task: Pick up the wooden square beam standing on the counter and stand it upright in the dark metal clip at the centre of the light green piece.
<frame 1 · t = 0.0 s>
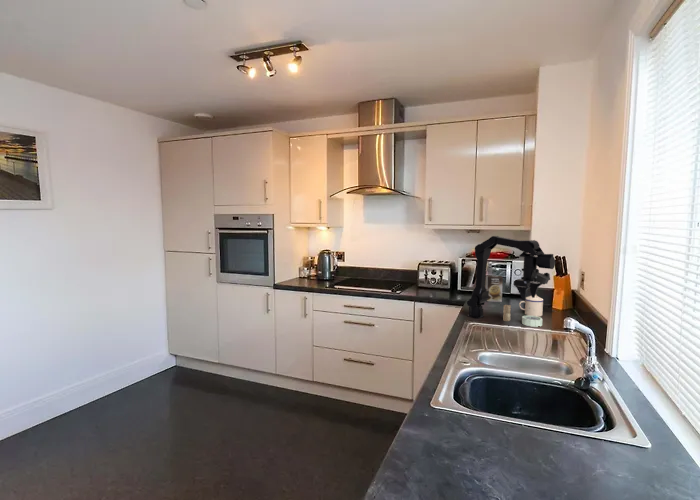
hand: (528, 298, 179), 15 cm above the worktop, tool pointing down, fingers open, 9 cm apart
light green piece: (531, 324, 188), on the worktop
coffee box: (493, 301, 240), on the worktop
teacup with lid: (530, 314, 206), on the worktop
wooden square beam: (506, 320, 195), on the worktop
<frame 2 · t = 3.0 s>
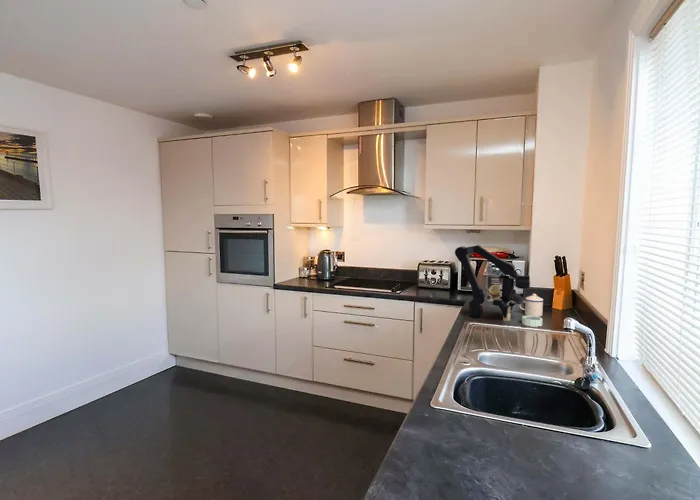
hand: (506, 316, 195), 2 cm above the worktop, tool pointing down, fingers closed on wooden square beam, 2 cm apart
wooden square beam: (506, 320, 195), on the worktop, touching gripper
everything else where it was.
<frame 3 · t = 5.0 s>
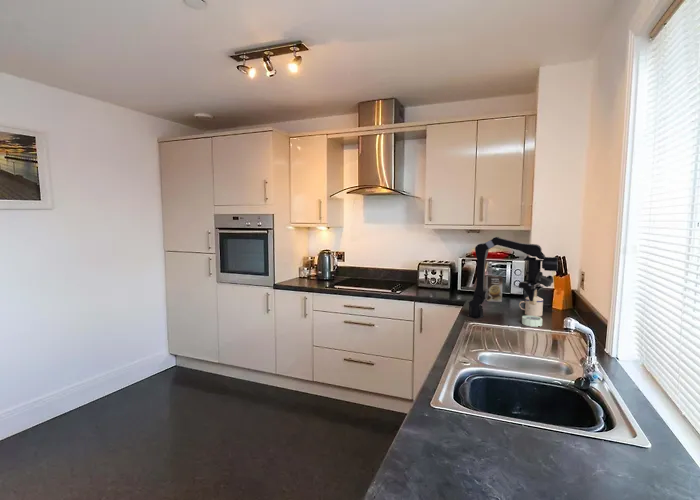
hand: (532, 300, 187), 12 cm above the worktop, tool pointing down, fingers closed on wooden square beam, 2 cm apart
wooden square beam: (532, 304, 187), point 10 cm above the worktop, touching gripper
everything else where it was.
when the fingers open (4 cm above the worktop, at t = 7.3 s): wooden square beam drops 2 cm, resting on light green piece.
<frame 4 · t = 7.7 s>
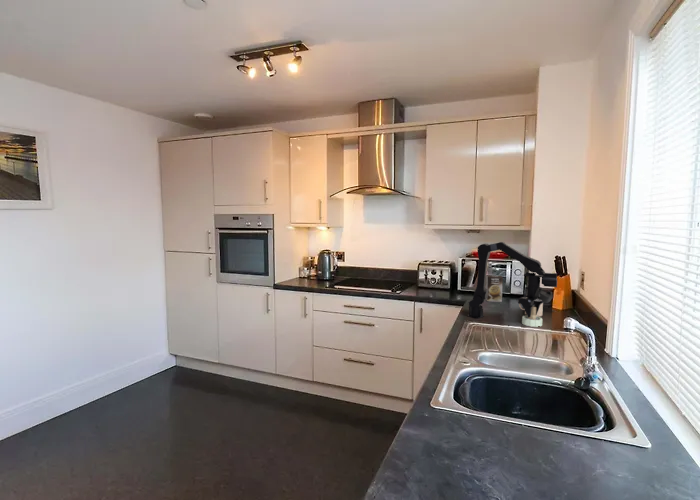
hand: (532, 315, 188), 4 cm above the worktop, tool pointing down, fingers open, 6 cm apart
wooden square beam: (531, 322, 188), point 1 cm above the worktop, touching light green piece
everything else where it was.
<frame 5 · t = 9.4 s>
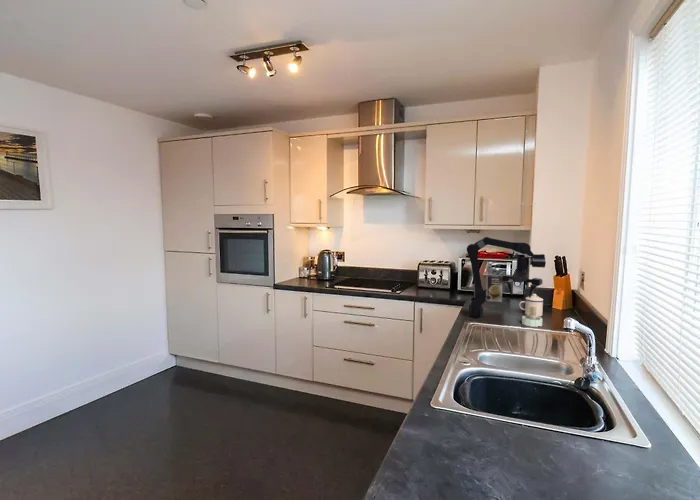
hand: (520, 296, 195), 12 cm above the worktop, tool pointing down, fingers open, 9 cm apart
nothing on the worktop moved.
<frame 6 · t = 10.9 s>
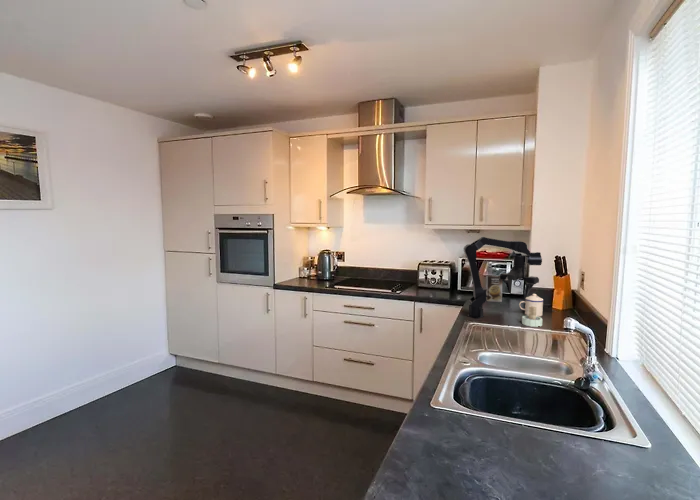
hand: (518, 294, 198), 13 cm above the worktop, tool pointing down, fingers open, 9 cm apart
nothing on the worktop moved.
at the end: wooden square beam 0.0 cm from the light green piece (horizontally); wooden square beam point 0.8 cm above the worktop; wooden square beam tilted 0° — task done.
